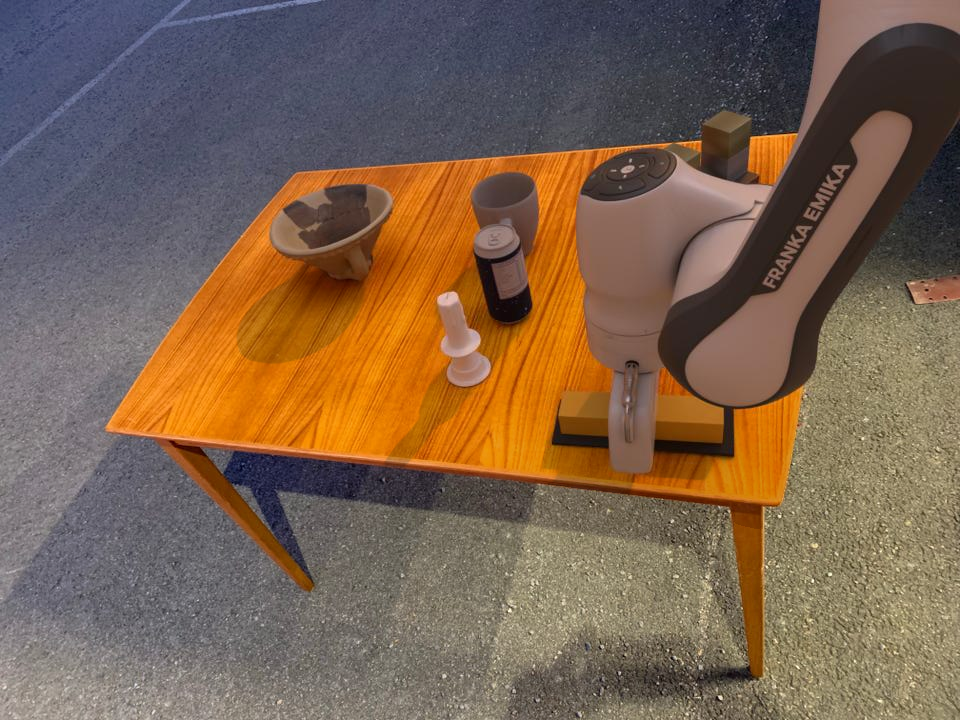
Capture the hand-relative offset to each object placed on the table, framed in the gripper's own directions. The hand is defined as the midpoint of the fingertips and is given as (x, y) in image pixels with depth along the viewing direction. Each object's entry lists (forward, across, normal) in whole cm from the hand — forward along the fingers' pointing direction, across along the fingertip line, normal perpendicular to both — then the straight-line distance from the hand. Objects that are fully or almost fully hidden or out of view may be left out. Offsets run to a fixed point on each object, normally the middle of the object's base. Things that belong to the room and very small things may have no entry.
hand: (640, 423), depth 72 cm
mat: (+1, 0, 0) cm, 1 cm away
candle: (+1, +7, +21) cm, 22 cm away
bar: (0, 0, 0) cm, 0 cm away
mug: (+1, +29, +19) cm, 35 cm away
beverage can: (+1, +17, +17) cm, 25 cm away
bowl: (+1, +27, +44) cm, 52 cm away
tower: (+1, +40, -5) cm, 41 cm away
